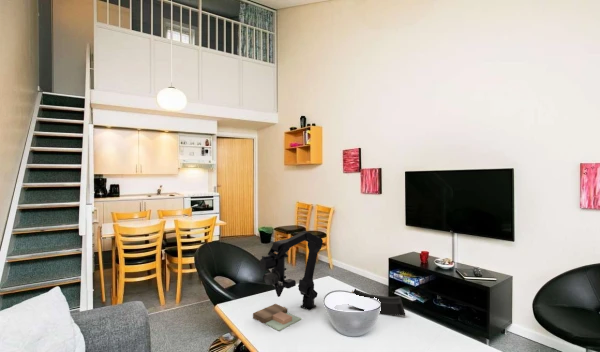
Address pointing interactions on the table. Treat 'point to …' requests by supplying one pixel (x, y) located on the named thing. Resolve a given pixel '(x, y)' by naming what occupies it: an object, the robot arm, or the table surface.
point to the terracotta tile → (282, 318)
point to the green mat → (280, 326)
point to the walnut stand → (268, 313)
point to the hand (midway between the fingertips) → (278, 296)
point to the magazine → (386, 303)
